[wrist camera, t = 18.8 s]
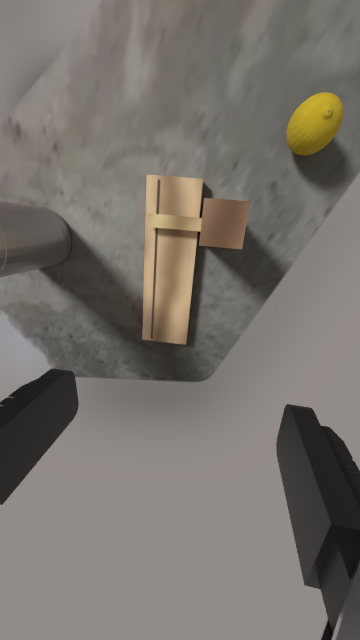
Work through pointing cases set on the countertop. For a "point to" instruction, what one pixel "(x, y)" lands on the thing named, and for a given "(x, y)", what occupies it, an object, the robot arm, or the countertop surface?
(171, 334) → the board
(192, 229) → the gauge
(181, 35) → the countertop surface
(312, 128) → the lemon
